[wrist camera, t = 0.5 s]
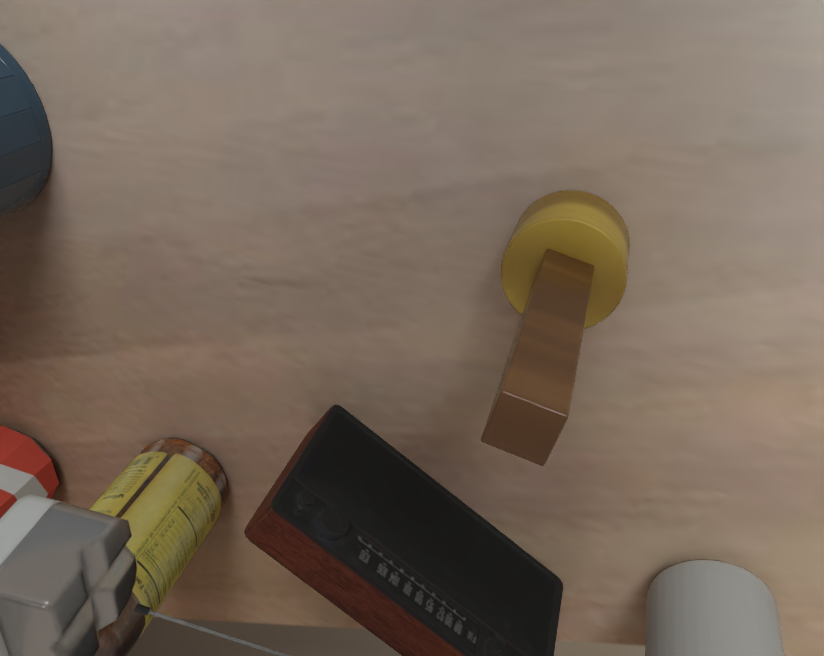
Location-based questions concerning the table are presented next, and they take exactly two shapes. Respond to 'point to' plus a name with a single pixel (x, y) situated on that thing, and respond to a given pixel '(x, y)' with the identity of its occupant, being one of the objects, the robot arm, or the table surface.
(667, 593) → the beverage can
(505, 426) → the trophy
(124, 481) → the sauce bottle
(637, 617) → the table surface
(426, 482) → the radio
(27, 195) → the blue bin
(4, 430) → the beverage can
